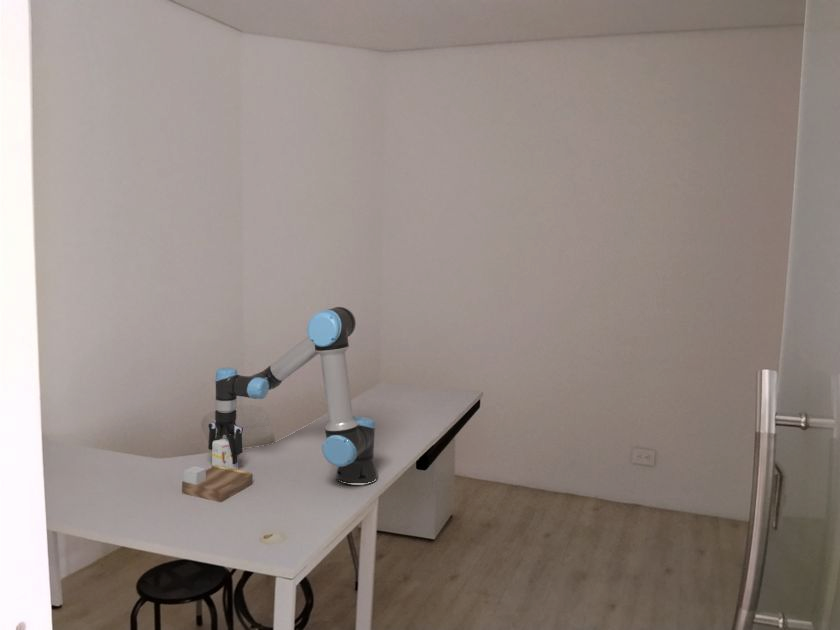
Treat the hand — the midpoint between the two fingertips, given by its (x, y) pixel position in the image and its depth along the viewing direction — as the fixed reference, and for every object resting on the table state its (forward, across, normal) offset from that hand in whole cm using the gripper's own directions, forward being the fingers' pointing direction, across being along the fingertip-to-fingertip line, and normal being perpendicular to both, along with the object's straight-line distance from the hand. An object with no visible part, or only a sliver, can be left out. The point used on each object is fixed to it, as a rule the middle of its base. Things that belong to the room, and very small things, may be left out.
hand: (225, 470), depth 268 cm
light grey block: (-4, -3, +21) cm, 22 cm away
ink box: (+1, 0, 0) cm, 1 cm away
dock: (0, -8, +15) cm, 17 cm away
